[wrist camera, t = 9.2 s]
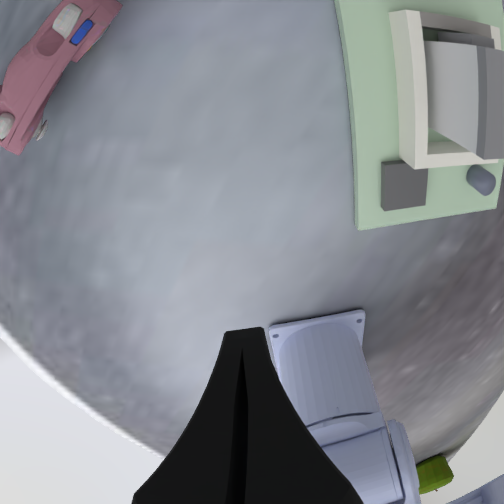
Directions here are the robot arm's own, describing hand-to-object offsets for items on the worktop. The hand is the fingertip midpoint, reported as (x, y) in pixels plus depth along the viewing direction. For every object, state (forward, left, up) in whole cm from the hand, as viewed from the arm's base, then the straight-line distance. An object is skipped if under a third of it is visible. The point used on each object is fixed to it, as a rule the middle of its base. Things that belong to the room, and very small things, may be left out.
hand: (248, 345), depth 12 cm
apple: (-86, -37, -10) cm, 94 cm away
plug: (+7, -13, -9) cm, 17 cm away
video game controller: (+13, +8, -10) cm, 18 cm away
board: (+6, -13, -10) cm, 17 cm away
